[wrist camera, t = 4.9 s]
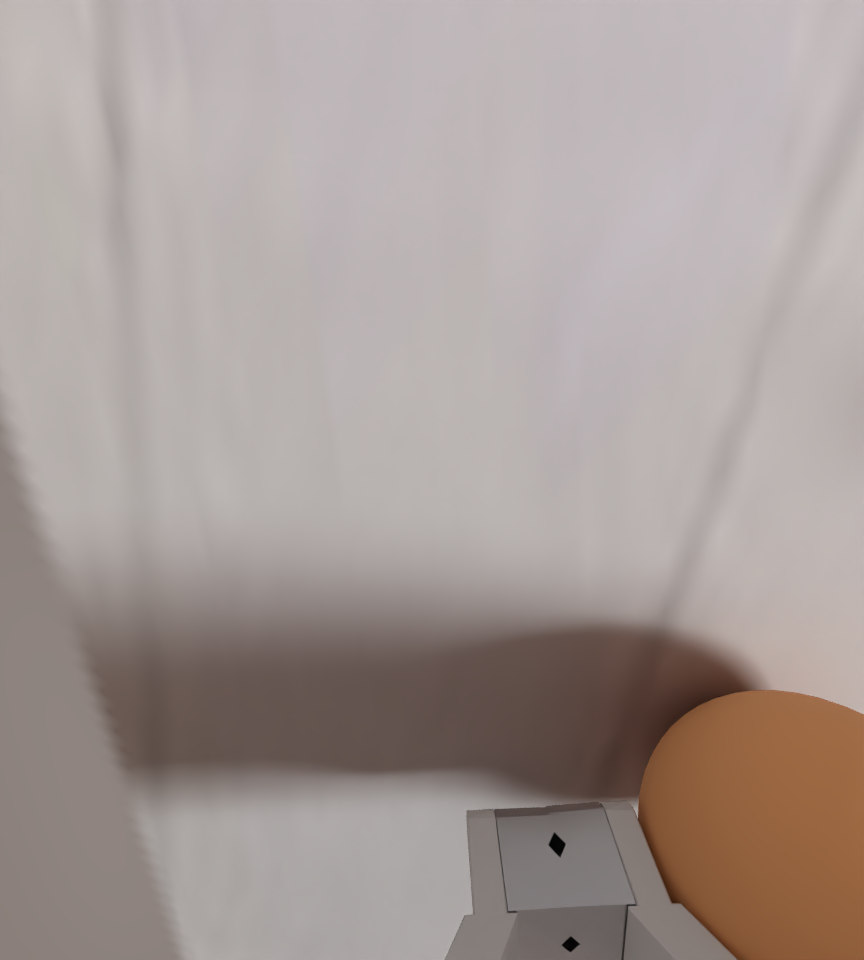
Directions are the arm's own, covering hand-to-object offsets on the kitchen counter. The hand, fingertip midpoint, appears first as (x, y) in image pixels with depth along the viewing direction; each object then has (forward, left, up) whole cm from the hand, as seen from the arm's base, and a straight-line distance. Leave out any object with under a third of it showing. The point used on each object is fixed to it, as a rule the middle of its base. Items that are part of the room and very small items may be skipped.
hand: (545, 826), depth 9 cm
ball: (0, -4, +1) cm, 4 cm away
